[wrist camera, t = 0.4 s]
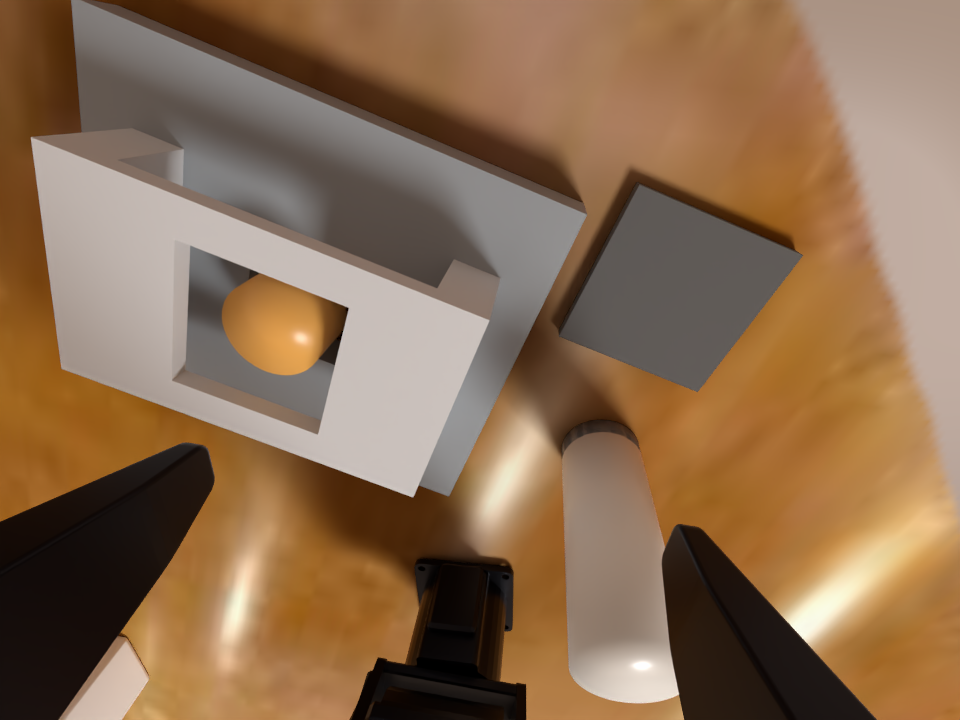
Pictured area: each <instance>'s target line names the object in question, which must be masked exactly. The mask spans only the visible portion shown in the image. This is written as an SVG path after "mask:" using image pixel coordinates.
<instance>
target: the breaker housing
mask: <svg viewBox="0 0 960 720" xmlns="http://www.w3.org/2000/svg"><path fill="white" fill-rule="evenodd" d="M71 4H72V16H73V29H74V42H75V54H76V67H77V80H78V92H79V105H80V117H81V130H82V133H71V134H60V135H48V136H37V137H31V142H32V150H33V158H34V165H35V173H36V180H37V188H38V195H39V203H40V210H41V218H42V225H43V233H44V240H45V248H46V255H47V263H48V270H49V278H50V286H51V293H52V301H53V308H54V316H55V323H56V331H57V338H58V346H59V353H60V361H61V368H62V369H64V370H67V371H69V372H72V373H75V374H77V375H80V376H83V377H86V378H88V379H91V380H94V381H97V382H99V383H102V384H105V385H107V386H110V387H113V388H116V389H118V390H121V391H124V392H127V393H129V394H132V395H135V396H137V397H140V398H143V399H146V400H148V401H151V402H154V403H157V404H159V405H162V406H165V407H167V408H170V409H173V410H176V411H178V412H181V413H184V414H187V415H189V416H192V417H195V418H198V419H200V420H203V421H206V422H208V423H211V424H214V425H217V426H219V427H222V428H225V429H228V430H230V431H233V432H236V433H238V434H241V435H244V436H247V437H249V438H252V439H255V440H258V441H260V442H263V443H266V444H268V445H271V446H274V447H277V448H279V449H282V450H285V451H288V452H290V453H293V454H296V455H298V456H301V457H304V458H307V459H309V460H312V461H315V462H318V463H320V464H323V465H326V466H329V467H331V468H334V469H337V470H339V471H342V472H345V473H348V474H350V475H353V476H356V477H359V478H361V479H364V480H367V481H369V482H372V483H375V484H378V485H380V486H383V487H386V488H389V489H391V490H394V491H397V492H399V493H402V494H405V495H408V496H410V497H414V495H415V492H416V490H417V488H418V485H419V486H422V487H424V488H427V489H430V490H433V491H435V492H438V493H441V494H443V495H446V496H449V495H450V493H451V491H452V489H453V487H454V485H455V483H456V481H457V479H458V477H459V475H460V473H461V471H462V469H463V467H464V465H465V463H466V461H467V459H468V457H469V455H470V452H471V450H472V448H473V446H474V444H475V442H476V440H477V438H478V436H479V434H480V432H481V430H482V428H483V426H484V424H485V422H486V420H487V418H488V416H489V414H490V412H491V410H492V408H493V406H494V403H495V401H496V399H497V397H498V395H499V393H500V391H501V389H502V387H503V385H504V383H505V381H506V379H507V377H508V375H509V373H510V371H511V369H512V367H513V365H514V363H515V361H516V359H517V357H518V355H519V352H520V350H521V348H522V346H523V344H524V342H525V340H526V338H527V336H528V334H529V332H530V330H531V328H532V326H533V324H534V322H535V320H536V318H537V316H538V314H539V312H540V310H541V308H542V306H543V304H544V301H545V299H546V297H547V295H548V293H549V291H550V289H551V287H552V285H553V283H554V281H555V279H556V277H557V275H558V273H559V271H560V269H561V267H562V265H563V263H564V261H565V259H566V257H567V255H568V252H569V250H570V248H571V246H572V244H573V242H574V240H575V238H576V236H577V234H578V232H579V230H580V228H581V226H582V224H583V222H584V220H585V218H586V216H587V213H586V209H585V206H584V203H582V202H579V201H577V200H575V199H572V198H570V197H568V196H565V195H563V194H561V193H558V192H556V191H554V190H551V189H549V188H546V187H544V186H542V185H539V184H537V183H535V182H532V181H530V180H528V179H525V178H523V177H521V176H518V175H516V174H514V173H511V172H509V171H507V170H504V169H502V168H499V167H497V166H495V165H492V164H490V163H488V162H485V161H483V160H481V159H478V158H476V157H474V156H471V155H469V154H467V153H464V152H462V151H459V150H457V149H455V148H452V147H450V146H448V145H445V144H443V143H441V142H438V141H436V140H434V139H431V138H429V137H427V136H424V135H422V134H419V133H417V132H415V131H412V130H410V129H408V128H405V127H403V126H401V125H398V124H396V123H394V122H391V121H389V120H387V119H384V118H382V117H379V116H377V115H375V114H372V113H370V112H368V111H365V110H363V109H361V108H358V107H356V106H354V105H351V104H349V103H347V102H344V101H342V100H340V99H337V98H335V97H332V96H330V95H328V94H325V93H323V92H321V91H318V90H316V89H314V88H311V87H309V86H307V85H304V84H302V83H300V82H297V81H295V80H292V79H290V78H288V77H285V76H283V75H281V74H278V73H276V72H274V71H271V70H269V69H267V68H264V67H262V66H260V65H257V64H255V63H252V62H250V61H248V60H245V59H243V58H241V57H238V56H236V55H234V54H231V53H229V52H227V51H224V50H222V49H220V48H217V47H215V46H212V45H210V44H208V43H205V42H203V41H201V40H198V39H196V38H194V37H191V36H189V35H187V34H184V33H182V32H180V31H177V30H175V29H173V28H170V27H168V26H165V25H163V24H161V23H158V22H156V21H154V20H151V19H149V18H147V17H144V16H142V15H140V14H137V13H135V12H133V11H130V10H128V9H125V8H123V7H121V6H118V5H114V4H109V3H104V2H99V1H94V0H71ZM259 273H261V274H264V275H267V276H269V277H272V278H274V279H277V280H279V281H282V282H284V283H287V284H289V285H292V286H295V287H297V288H300V289H302V290H305V291H307V292H310V293H312V294H315V295H317V296H320V297H323V298H325V299H328V300H330V301H333V302H335V303H338V304H340V305H343V306H345V307H348V308H349V310H348V314H347V318H346V322H345V326H344V330H343V335H342V339H341V341H339V340H336V339H335V341H334V342H333V343H332V344H331V345H330V346H329V347H328V349H327V350H326V351H325V352H324V353H323V354H322V356H321V357H320V358H319V359H318V360H317V361H316V362H315V364H314V365H313V366H312V367H311V368H309V369H308V370H306V371H304V372H302V373H299V374H295V375H277V374H272V373H269V372H266V371H264V370H261V369H259V368H257V367H256V366H254V365H252V364H251V363H249V362H248V361H247V360H246V359H244V358H243V357H242V356H241V355H240V354H239V353H238V352H237V351H236V350H235V348H234V347H233V346H232V344H231V343H230V341H229V339H228V337H227V335H226V333H225V330H224V327H223V323H222V308H223V304H224V301H225V299H226V298H227V296H228V295H229V294H230V292H231V291H233V290H234V289H235V288H237V287H238V286H240V285H241V284H243V283H245V282H246V281H248V280H249V279H251V278H253V277H254V276H256V275H257V274H259Z"/></svg>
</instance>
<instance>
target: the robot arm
mask: <svg viewBox="0 0 960 720" xmlns="http://www.w3.org/2000/svg"><path fill="white" fill-rule="evenodd" d="M214 479H215V477H214V472H213V467H212V463H211V459H210V455H209V451H208V449H207V448H206V447H205V446H203V445H199V444H193V443H181V444H178V445H176V446H174V447H171V448H169V449H167V450H165V451H162V452H160V453H158V454H155V455H153V456H151V457H148V458H146V459H144V460H142V461H139V462H137V463H135V464H132V465H130V466H128V467H125V468H123V469H121V470H119V471H116V472H114V473H112V474H109V475H107V476H105V477H102V478H100V479H98V480H95V481H93V482H91V483H89V484H86V485H84V486H82V487H79V488H77V489H75V490H72V491H70V492H68V493H66V494H63V495H61V496H59V497H56V498H54V499H52V500H49V501H47V502H45V503H42V504H40V505H38V506H36V507H33V508H31V509H29V510H26V511H24V512H22V513H19V514H17V515H15V516H12V517H10V518H8V519H6V520H3V521H1V522H0V720H59V719H60V717H61V716H62V714H63V713H64V711H65V710H66V709H67V707H68V706H69V704H70V703H71V702H72V700H73V699H74V697H75V696H76V694H77V693H78V692H79V690H80V689H81V687H82V686H83V685H84V683H85V682H86V680H87V679H88V677H89V676H90V675H91V673H92V672H93V670H94V669H95V668H96V666H97V665H98V663H99V662H100V660H101V659H102V658H103V656H104V655H105V653H106V652H107V651H108V649H109V648H110V646H111V645H112V643H113V642H114V641H115V639H116V638H117V636H118V635H119V634H120V632H121V631H122V629H123V628H124V627H125V625H126V624H127V622H128V621H129V619H130V618H131V617H132V615H133V614H134V612H135V611H136V610H137V608H138V607H139V605H140V604H141V602H142V601H143V600H144V598H145V597H146V595H147V594H148V593H149V591H150V590H151V588H152V587H153V585H154V584H155V583H156V581H157V580H158V578H159V577H160V576H161V574H162V573H163V571H164V570H165V568H166V567H167V565H168V564H169V562H170V561H171V559H172V558H173V556H174V554H175V553H176V551H177V549H178V548H179V546H180V544H181V542H182V541H183V539H184V537H185V536H186V534H187V532H188V530H189V529H190V527H191V525H192V523H193V522H194V520H195V518H196V516H197V515H198V513H199V511H200V509H201V508H202V506H203V504H204V502H205V501H206V499H207V497H208V495H209V494H210V492H211V490H212V488H213V485H214ZM414 569H415V576H416V582H417V589H418V596H419V603H420V607H419V611H418V615H417V619H416V623H415V627H414V631H413V635H412V639H411V643H410V647H409V651H408V655H407V659H406V663H405V664H402V663H396V662H391V661H387V659H385V658H379V657H378V659H377V661H376V664H375V666H374V669H373V671H370V672H368V673H367V676H366V680H365V683H364V686H363V689H362V692H361V695H360V698H359V701H358V703H357V706H356V708H355V710H354V712H353V714H352V716H351V718H350V720H526V684H521V683H516V684H511V683H506V682H500V678H501V666H502V654H503V642H504V631H511V630H512V626H513V575H514V572H513V570H512V569H511V568H509V567H504V566H494V565H484V564H473V563H463V562H453V561H443V560H432V559H418V560H417V561H416V563H415V567H414ZM662 575H663V585H664V595H665V605H666V615H667V625H668V635H669V643H670V651H671V657H672V662H673V668H674V673H675V677H676V682H677V687H678V692H679V696H680V701H681V706H682V711H683V716H684V720H877V719H876V718H875V717H874V716H873V715H872V714H871V713H870V712H869V711H868V709H867V708H866V707H865V706H864V705H863V704H862V703H861V702H860V701H859V700H858V699H857V697H856V696H855V695H854V694H853V693H852V692H851V691H850V690H849V689H848V688H847V687H846V685H845V684H844V683H843V682H842V681H841V680H840V679H839V678H838V677H837V676H836V675H835V673H834V672H833V671H832V670H831V669H830V668H829V667H828V666H827V665H826V664H825V663H824V661H823V660H822V659H821V658H820V657H819V656H818V655H817V654H816V653H815V652H814V651H813V649H812V648H811V647H810V646H809V645H808V644H807V643H806V642H805V641H804V640H803V639H802V638H801V636H800V635H799V634H798V633H797V632H796V631H795V630H794V629H793V628H792V627H791V626H790V624H789V623H788V622H787V621H786V620H785V619H784V618H783V617H782V616H781V615H780V614H779V612H778V611H777V610H776V609H775V608H774V607H773V606H772V605H771V604H770V603H769V602H768V600H767V599H766V598H765V597H764V596H763V595H762V594H761V593H760V592H759V591H758V590H757V588H756V587H755V586H754V585H753V584H752V583H751V582H750V581H749V580H748V579H747V578H746V576H745V575H744V574H743V573H742V572H741V571H740V570H739V569H738V568H737V567H736V566H735V564H734V563H733V562H732V561H731V560H730V559H729V558H728V557H727V556H726V555H725V554H724V552H723V551H722V550H721V549H720V548H719V547H718V546H717V545H716V544H715V543H714V542H713V540H712V539H711V538H710V537H709V536H708V535H707V534H706V533H705V532H704V531H703V530H702V529H701V528H699V527H695V526H689V525H683V524H678V525H676V526H675V527H674V529H673V531H672V533H671V535H670V538H669V540H668V542H667V545H666V547H665V549H664V552H663V555H662Z"/></svg>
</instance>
